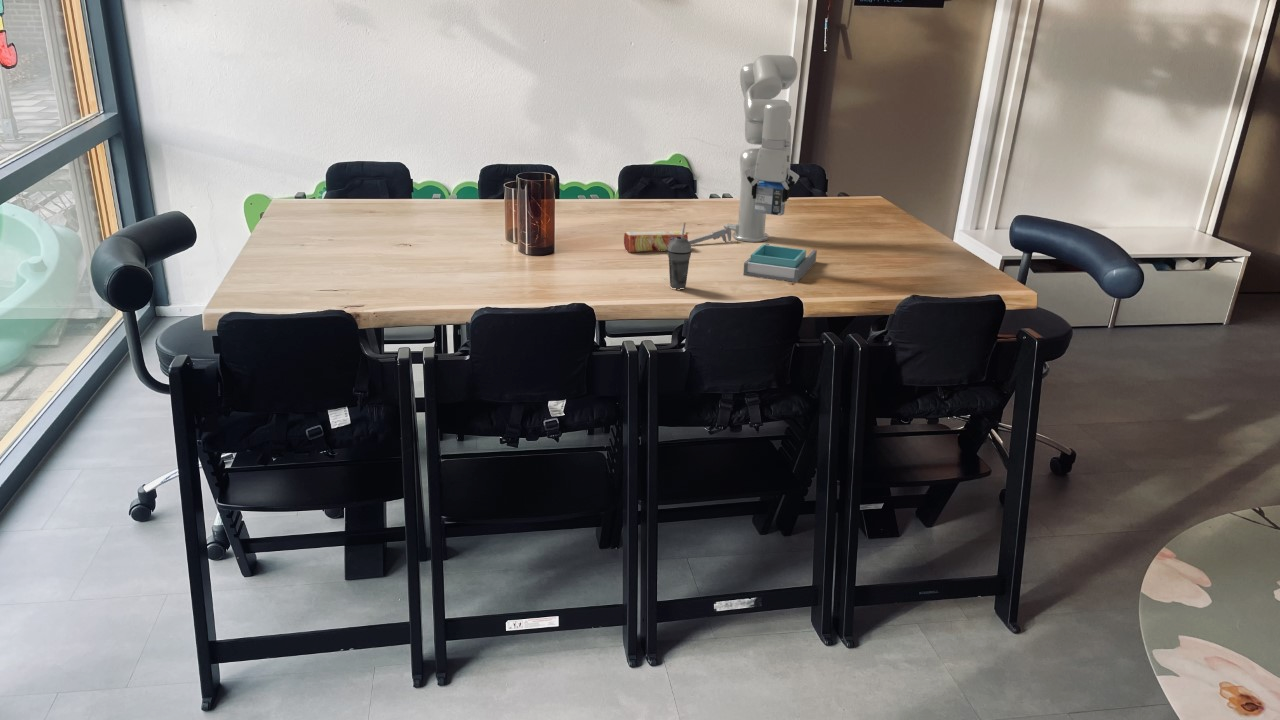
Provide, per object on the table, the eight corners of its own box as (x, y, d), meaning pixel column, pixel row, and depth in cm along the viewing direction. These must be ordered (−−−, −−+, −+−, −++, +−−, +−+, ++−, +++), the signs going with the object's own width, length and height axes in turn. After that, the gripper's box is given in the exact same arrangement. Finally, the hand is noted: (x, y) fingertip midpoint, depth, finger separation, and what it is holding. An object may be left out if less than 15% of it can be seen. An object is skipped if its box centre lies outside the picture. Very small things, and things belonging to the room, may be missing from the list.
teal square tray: (749, 270, 314) (750, 254, 312) (761, 259, 326) (762, 244, 324) (794, 276, 309) (795, 260, 307) (804, 265, 321) (806, 249, 319)
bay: (743, 275, 313) (744, 262, 312) (765, 255, 336) (766, 243, 334) (796, 282, 307) (798, 270, 306) (815, 261, 330) (816, 250, 328)
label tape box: (754, 212, 315) (756, 173, 310) (758, 210, 318) (761, 171, 313) (780, 216, 311) (783, 177, 306) (784, 213, 314) (787, 175, 310)
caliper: (729, 241, 352) (730, 224, 350) (730, 242, 351) (731, 224, 349) (678, 246, 344) (678, 228, 342) (679, 247, 343) (680, 229, 341)
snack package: (682, 246, 344) (683, 227, 341) (688, 252, 338) (689, 232, 335) (622, 249, 339) (623, 229, 336) (627, 254, 333) (628, 234, 330)
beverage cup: (664, 284, 302) (666, 219, 295) (688, 284, 303) (691, 219, 295) (667, 291, 295) (669, 225, 288) (691, 291, 296) (694, 225, 288)
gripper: (804, 145, 306) (799, 200, 312) (750, 140, 312) (747, 194, 318) (798, 148, 299) (793, 205, 306) (743, 143, 306) (739, 198, 312)
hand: (769, 199), depth 312 cm, fingers closed on label tape box, 9 cm apart
